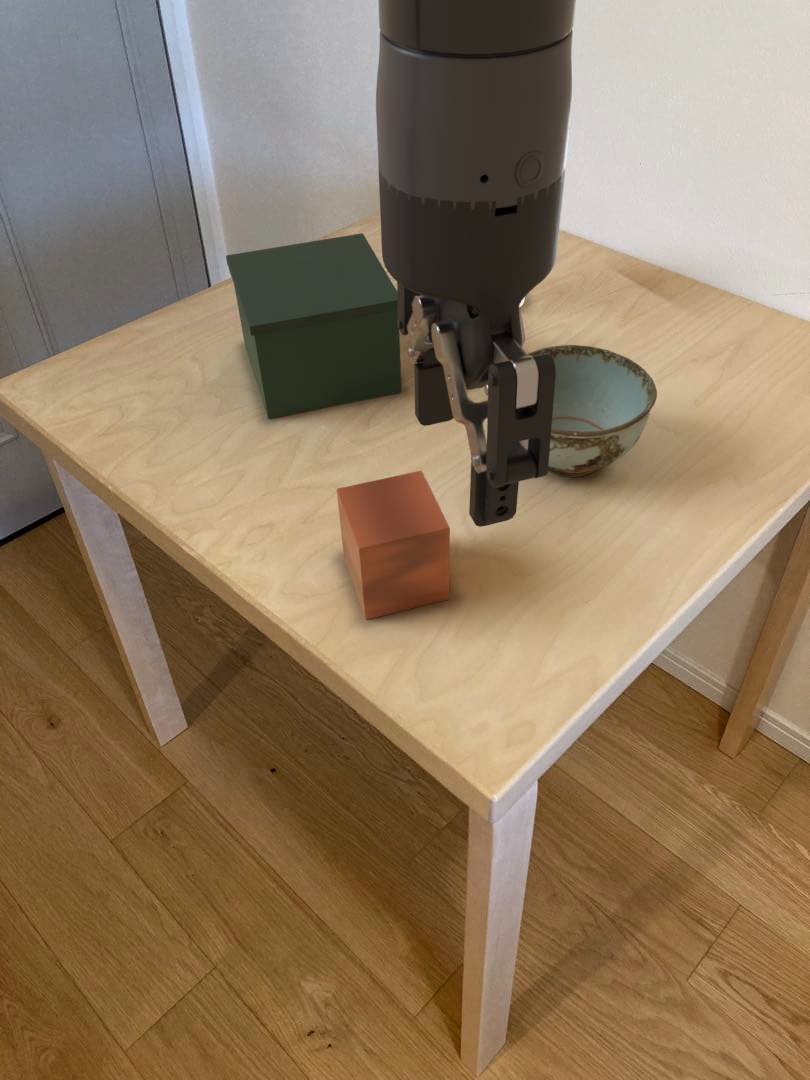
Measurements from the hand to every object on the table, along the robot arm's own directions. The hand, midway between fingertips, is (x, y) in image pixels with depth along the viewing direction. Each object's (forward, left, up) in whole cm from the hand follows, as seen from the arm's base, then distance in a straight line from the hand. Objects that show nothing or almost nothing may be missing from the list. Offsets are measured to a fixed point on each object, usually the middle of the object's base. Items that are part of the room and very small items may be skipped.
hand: (462, 466), depth 47 cm
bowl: (+20, +25, -24) cm, 40 cm away
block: (0, +15, -24) cm, 28 cm away
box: (+1, +47, -24) cm, 52 cm away
